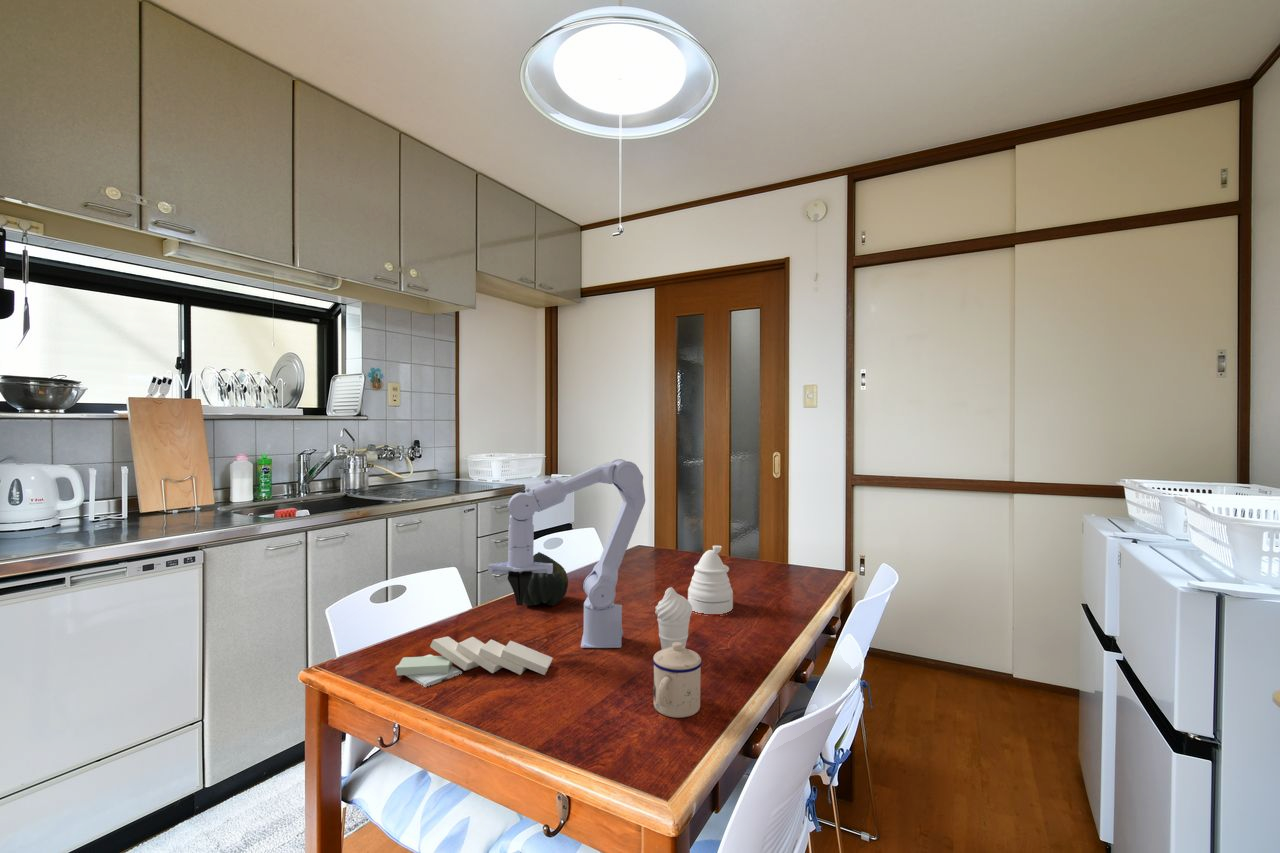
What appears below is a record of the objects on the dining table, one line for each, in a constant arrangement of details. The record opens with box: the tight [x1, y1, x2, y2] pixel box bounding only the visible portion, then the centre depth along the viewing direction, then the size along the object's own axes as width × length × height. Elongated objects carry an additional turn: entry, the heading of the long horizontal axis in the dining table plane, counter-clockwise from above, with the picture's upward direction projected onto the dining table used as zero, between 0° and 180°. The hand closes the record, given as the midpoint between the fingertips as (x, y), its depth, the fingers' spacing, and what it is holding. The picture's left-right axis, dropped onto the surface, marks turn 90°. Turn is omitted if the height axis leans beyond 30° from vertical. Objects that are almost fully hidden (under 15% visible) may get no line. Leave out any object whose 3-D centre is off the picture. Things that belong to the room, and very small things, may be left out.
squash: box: [523, 551, 569, 607], centre depth 162 cm, size 14×15×15 cm
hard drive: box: [394, 653, 463, 688], centre depth 116 cm, size 2×8×12 cm
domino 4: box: [478, 639, 527, 676], centre depth 117 cm, size 2×5×10 cm
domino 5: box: [501, 640, 554, 676], centre depth 117 cm, size 2×5×10 cm
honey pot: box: [687, 544, 734, 614], centre depth 158 cm, size 13×13×18 cm
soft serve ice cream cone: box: [654, 586, 693, 650], centre depth 123 cm, size 8×8×16 cm
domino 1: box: [396, 655, 453, 676], centre depth 115 cm, size 2×5×10 cm
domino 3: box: [456, 636, 504, 674], centre depth 118 cm, size 2×5×10 cm
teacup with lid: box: [652, 642, 703, 719], centre depth 101 cm, size 12×9×12 cm
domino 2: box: [429, 635, 480, 671], centre depth 118 cm, size 2×5×10 cm
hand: (520, 604), depth 128 cm, fingers closed
